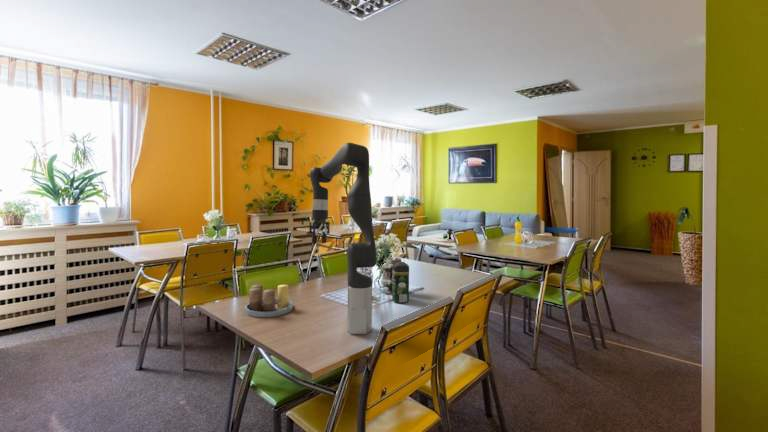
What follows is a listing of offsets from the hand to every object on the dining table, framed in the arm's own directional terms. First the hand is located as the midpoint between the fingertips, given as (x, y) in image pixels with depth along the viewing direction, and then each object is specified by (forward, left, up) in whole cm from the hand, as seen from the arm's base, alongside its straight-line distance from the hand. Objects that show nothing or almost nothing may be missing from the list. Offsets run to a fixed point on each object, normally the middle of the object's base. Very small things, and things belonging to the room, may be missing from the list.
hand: (319, 243), depth 176 cm
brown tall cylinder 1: (-15, +25, -27) cm, 40 cm away
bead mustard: (-15, +13, -27) cm, 34 cm away
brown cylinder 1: (-21, +23, -27) cm, 41 cm away
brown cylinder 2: (-22, +17, -27) cm, 39 cm away
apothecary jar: (+14, -35, -27) cm, 47 cm away
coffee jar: (0, -39, -27) cm, 48 cm away
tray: (-17, +19, -27) cm, 37 cm away
